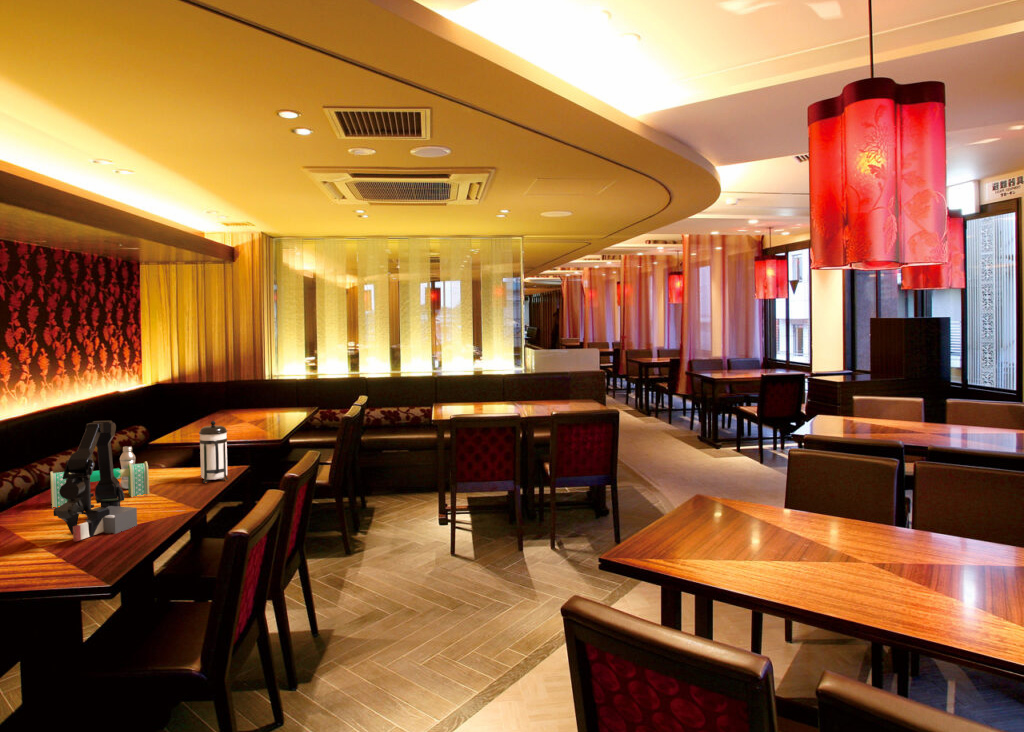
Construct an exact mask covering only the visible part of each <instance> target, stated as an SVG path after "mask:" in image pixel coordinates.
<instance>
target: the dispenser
mask: <svg viewBox="0 0 1024 732" xmlns="http://www.w3.org/2000/svg"><path fill="white" fill-rule="evenodd" d="M107 508H109V510H110V515H108V516H105V517H104V532H103V533H104V534H111V533H113V535H116V534H118V533H119V534H120V533H121V531H122V532H124V531H127V530H129V529H132V527H133V528H135V527H137V526H138V512H137V511H138V510H137V507H131V506H120V507H119V506H108V507H107ZM84 516H86V517H87V515H84ZM134 526H135V527H134Z"/></svg>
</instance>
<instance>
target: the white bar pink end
mask: <svg viewBox="0 0 1024 732" xmlns="http://www.w3.org/2000/svg"><path fill="white" fill-rule="evenodd" d="M101 533H104V517H103V518H102V520H101V521H100V523H99V525H98V527H97V529H96V531H95V533H94V535H93V536H95V535H98V534H101ZM90 537H91V536H90V535H89V528H88V522H87V521H85V522H83V523H79V524H77V525H76V526H73V535H72V539H73V542H79V541H82V540H84V539H87V538H90Z"/></svg>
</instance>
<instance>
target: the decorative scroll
mask: <svg viewBox="0 0 1024 732" xmlns="http://www.w3.org/2000/svg"><path fill="white" fill-rule="evenodd" d="M113 472H114V476H115V478H116V479H117V480H121V477H124V476H128V489H127V490H128V495H129V494H130V495H129V497H130V496H131V497H132V498H134V497H133V496H137V495H143V494H149V495H150V479H149V477H150V476H149V465H148V461H144V462H143V463H135V464H132V465H131V463H129V464H128V469H120V468H119V467H117V468H113ZM49 473H50V500H51V501H50V503H51V504H52V505H51V504H50V505H51V509H54V508H53V507H58V506H61V505H63V504H64V503H66V502H67V501H68V499H65V498H63V497H62V496H61V495H60V492H59V490H60V488H61V486H62V485H63V484H65V483H66V479H63V474H64V471H61V472H60V471H58V472H54V471H50V472H49ZM69 474H71V473H70V472H69ZM99 481H100V473H99V470H93V472H92V475H91V476H90V483H95V482H97V483H98V482H99ZM131 497H130V498H131ZM137 497H138V496H137Z"/></svg>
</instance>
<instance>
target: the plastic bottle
mask: <svg viewBox="0 0 1024 732" xmlns="http://www.w3.org/2000/svg"><path fill="white" fill-rule="evenodd" d="M119 463H120V467H121V469H128V464H129V463H131V465H132V464H136V455H135V454H134V452H133V447H132V446H131V445H127V446H123V447H122V453H121V455H120V457H119ZM121 469H120V470H121ZM120 487H121V488H122V490H123V489H124V490H128V476H124V477H121V478H120Z"/></svg>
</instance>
